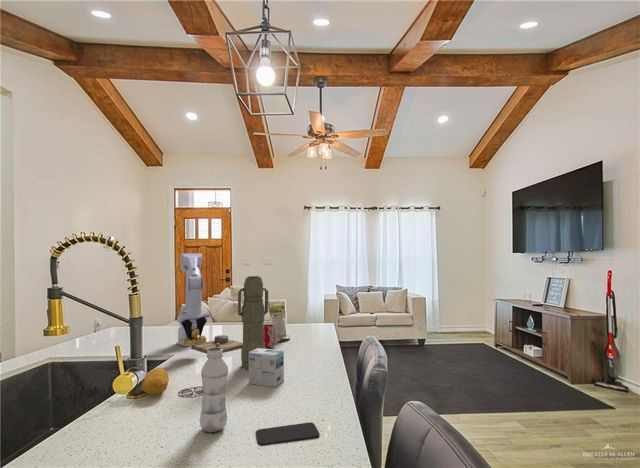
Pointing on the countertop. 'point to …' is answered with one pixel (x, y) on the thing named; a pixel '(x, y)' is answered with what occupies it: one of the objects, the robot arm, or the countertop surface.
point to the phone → (287, 433)
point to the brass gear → (194, 338)
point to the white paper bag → (279, 321)
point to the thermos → (252, 316)
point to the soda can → (268, 335)
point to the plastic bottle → (214, 392)
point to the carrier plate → (219, 344)
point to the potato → (155, 381)
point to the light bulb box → (266, 367)
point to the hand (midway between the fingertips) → (193, 336)
